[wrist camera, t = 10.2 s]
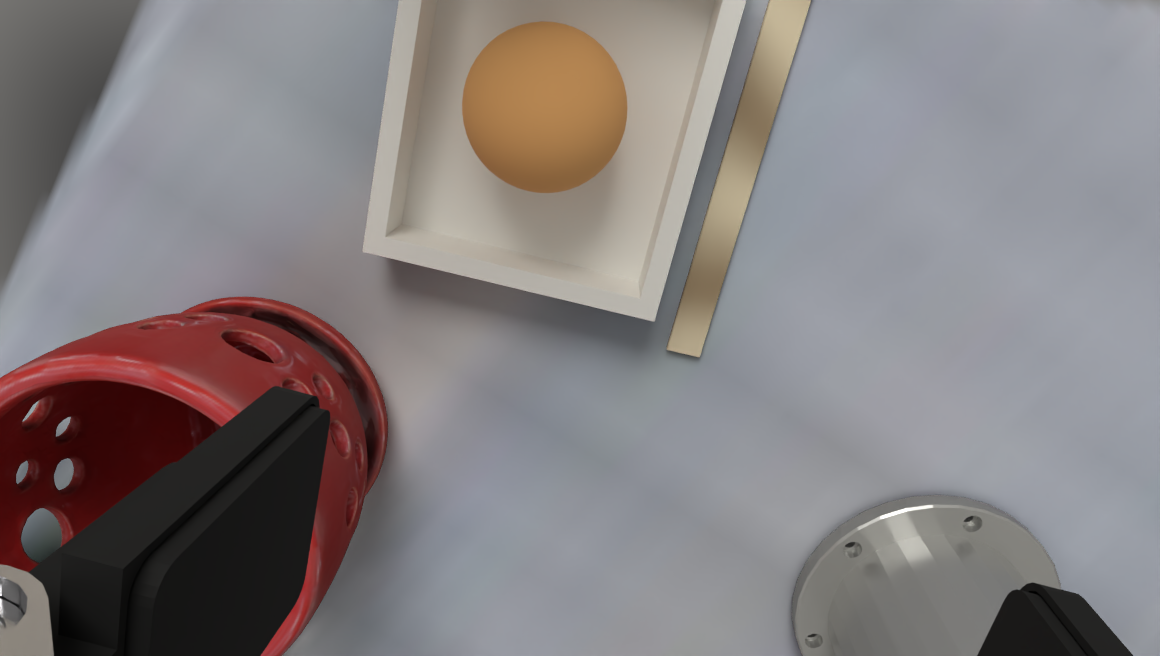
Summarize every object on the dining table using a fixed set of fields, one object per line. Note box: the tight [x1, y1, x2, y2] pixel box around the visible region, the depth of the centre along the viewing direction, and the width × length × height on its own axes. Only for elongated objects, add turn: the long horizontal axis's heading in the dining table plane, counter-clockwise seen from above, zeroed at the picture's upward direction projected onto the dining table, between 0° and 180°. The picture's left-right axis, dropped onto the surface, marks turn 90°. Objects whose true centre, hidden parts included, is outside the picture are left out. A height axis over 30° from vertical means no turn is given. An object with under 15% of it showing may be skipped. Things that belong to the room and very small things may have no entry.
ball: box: [462, 21, 628, 193], centre depth 28 cm, size 6×6×6 cm
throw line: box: [667, 0, 811, 357], centre depth 32 cm, size 20×2×1 cm, turn 167°
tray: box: [362, 0, 746, 322], centre depth 30 cm, size 14×12×3 cm
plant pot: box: [0, 297, 388, 656], centre depth 31 cm, size 13×13×12 cm
